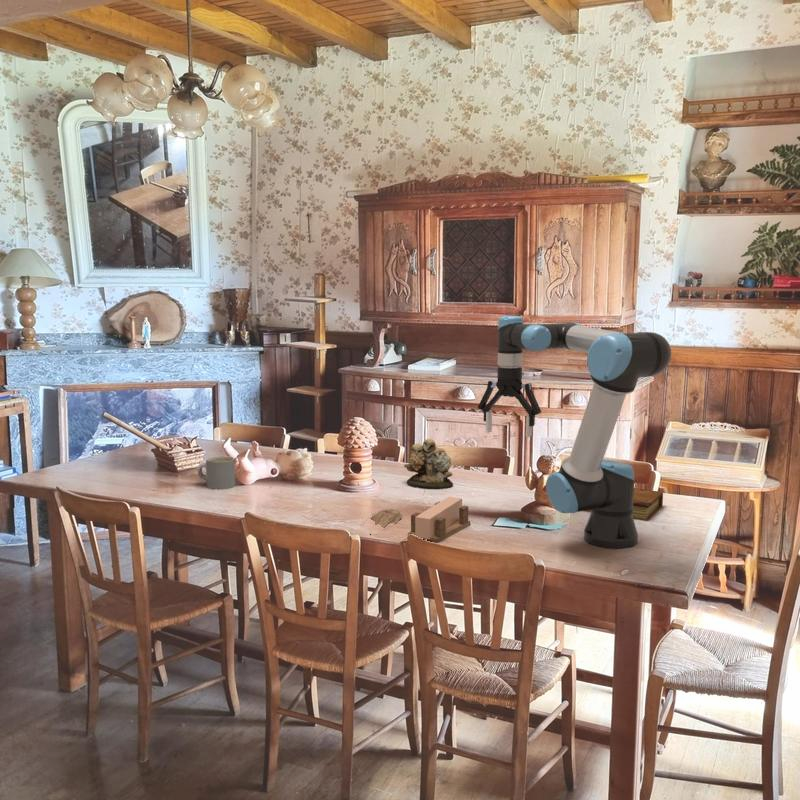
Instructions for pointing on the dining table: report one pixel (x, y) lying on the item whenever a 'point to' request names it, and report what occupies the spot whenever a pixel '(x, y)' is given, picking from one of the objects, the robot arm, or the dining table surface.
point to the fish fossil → (386, 517)
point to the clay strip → (427, 519)
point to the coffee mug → (218, 472)
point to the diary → (645, 503)
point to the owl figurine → (429, 466)
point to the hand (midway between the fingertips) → (508, 434)
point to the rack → (441, 525)
